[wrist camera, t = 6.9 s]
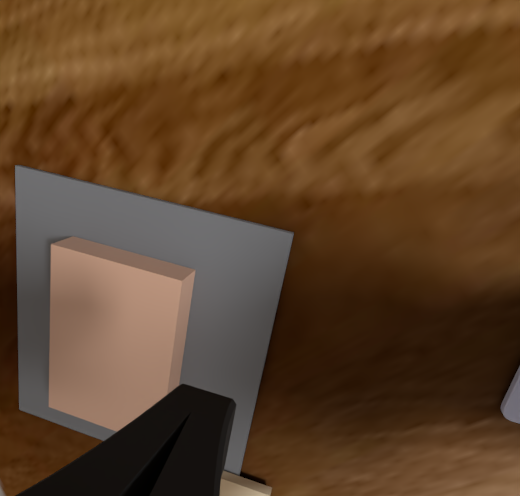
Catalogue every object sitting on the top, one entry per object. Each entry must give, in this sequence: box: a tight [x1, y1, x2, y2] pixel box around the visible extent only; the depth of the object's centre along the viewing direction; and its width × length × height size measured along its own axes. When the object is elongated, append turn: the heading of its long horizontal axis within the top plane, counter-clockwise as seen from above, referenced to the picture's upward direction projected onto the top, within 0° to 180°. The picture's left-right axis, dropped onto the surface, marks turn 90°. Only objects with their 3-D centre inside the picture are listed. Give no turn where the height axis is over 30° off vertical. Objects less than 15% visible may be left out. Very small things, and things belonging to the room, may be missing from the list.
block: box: [49, 236, 195, 431], centre depth 21 cm, size 2×10×7 cm
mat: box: [15, 165, 294, 476], centre depth 22 cm, size 15×16×1 cm
